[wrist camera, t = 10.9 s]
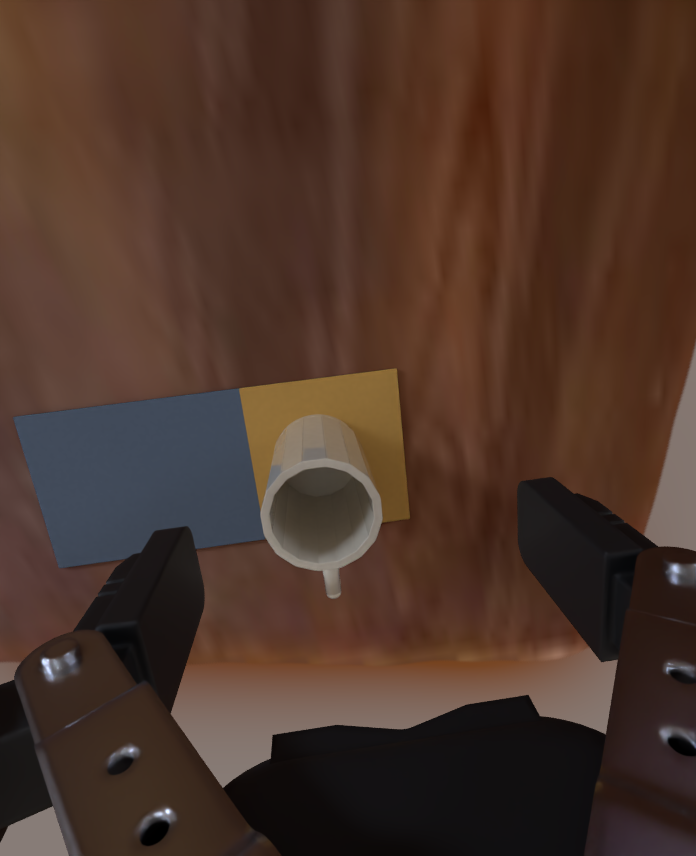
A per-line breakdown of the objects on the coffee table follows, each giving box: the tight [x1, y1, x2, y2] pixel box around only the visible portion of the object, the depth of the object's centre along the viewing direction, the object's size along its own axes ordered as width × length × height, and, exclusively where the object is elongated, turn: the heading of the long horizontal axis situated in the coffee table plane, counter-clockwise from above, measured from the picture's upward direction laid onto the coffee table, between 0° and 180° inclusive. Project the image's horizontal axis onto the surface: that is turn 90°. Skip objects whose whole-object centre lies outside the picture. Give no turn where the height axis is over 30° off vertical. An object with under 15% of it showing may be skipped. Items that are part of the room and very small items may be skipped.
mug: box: [260, 414, 383, 599], centre depth 30 cm, size 9×6×10 cm
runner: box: [13, 368, 410, 568], centre depth 34 cm, size 11×25×1 cm, turn 97°
